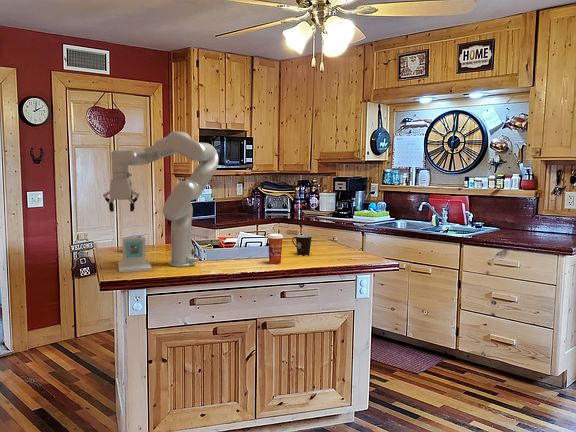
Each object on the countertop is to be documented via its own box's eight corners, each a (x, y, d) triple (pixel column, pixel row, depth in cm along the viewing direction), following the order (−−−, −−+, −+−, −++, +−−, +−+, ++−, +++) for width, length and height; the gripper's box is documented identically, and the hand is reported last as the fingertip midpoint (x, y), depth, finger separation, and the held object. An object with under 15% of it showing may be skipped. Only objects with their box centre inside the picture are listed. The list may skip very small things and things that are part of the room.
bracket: (151, 270, 238) (151, 240, 236) (119, 272, 234) (118, 242, 232) (148, 262, 255) (148, 234, 253) (118, 264, 250) (117, 236, 249)
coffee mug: (314, 255, 278) (314, 237, 277) (298, 256, 275) (299, 237, 274) (305, 251, 289) (305, 233, 287) (290, 252, 285) (290, 234, 284)
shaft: (138, 253, 239) (138, 244, 238) (131, 254, 238) (130, 244, 237) (136, 246, 257) (135, 237, 257) (129, 246, 256) (129, 237, 255)
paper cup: (269, 264, 254) (269, 236, 252) (265, 261, 261) (265, 233, 260) (284, 264, 256) (285, 235, 254) (280, 260, 263) (281, 233, 262)
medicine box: (134, 253, 277) (134, 237, 276) (127, 253, 278) (126, 236, 277) (141, 250, 285) (141, 235, 284) (134, 250, 285) (133, 234, 284)
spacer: (142, 256, 242) (142, 241, 242) (126, 257, 240) (126, 242, 239) (142, 255, 244) (141, 241, 243) (126, 256, 242) (126, 241, 241)
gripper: (140, 175, 257) (142, 210, 259) (105, 175, 257) (106, 210, 259) (136, 176, 249) (137, 212, 251) (99, 176, 250) (101, 212, 251)
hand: (122, 211), depth 255 cm, fingers open, 9 cm apart
